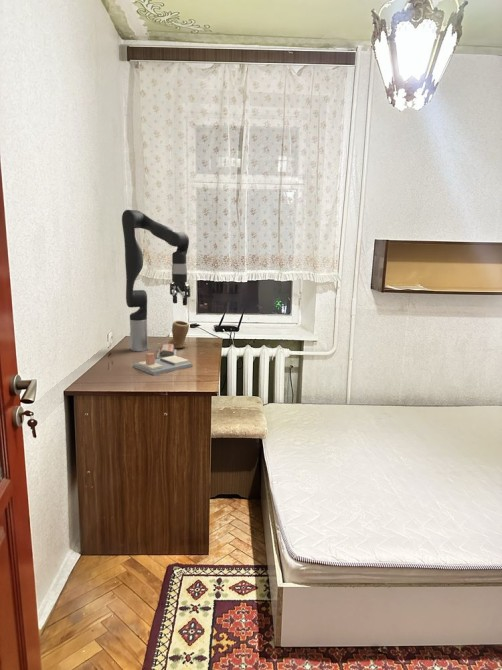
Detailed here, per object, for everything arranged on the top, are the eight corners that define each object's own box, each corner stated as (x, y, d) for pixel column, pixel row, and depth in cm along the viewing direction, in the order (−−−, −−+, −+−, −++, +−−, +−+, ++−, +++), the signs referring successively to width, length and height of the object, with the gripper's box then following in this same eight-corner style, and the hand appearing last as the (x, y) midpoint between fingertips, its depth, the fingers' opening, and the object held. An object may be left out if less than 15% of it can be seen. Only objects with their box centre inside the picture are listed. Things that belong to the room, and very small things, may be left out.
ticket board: (133, 366, 214) (133, 361, 214) (171, 358, 229) (171, 354, 229) (153, 375, 202) (153, 369, 201) (192, 366, 217) (192, 361, 216)
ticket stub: (138, 364, 212) (138, 352, 211) (148, 362, 216) (148, 350, 215) (152, 369, 204) (151, 357, 203) (162, 367, 208) (162, 355, 207)
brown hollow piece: (189, 349, 250) (189, 323, 247) (168, 349, 248) (167, 323, 245) (188, 343, 264) (188, 318, 261) (168, 343, 263) (168, 318, 259)
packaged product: (158, 343, 245) (176, 342, 246) (158, 351, 246) (176, 351, 247) (156, 351, 227) (175, 350, 229) (156, 360, 228) (175, 359, 230)
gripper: (165, 272, 226) (165, 303, 230) (181, 273, 217) (182, 306, 220) (177, 271, 232) (177, 302, 235) (193, 273, 222) (194, 305, 225)
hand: (179, 304), depth 227 cm, fingers open, 8 cm apart
